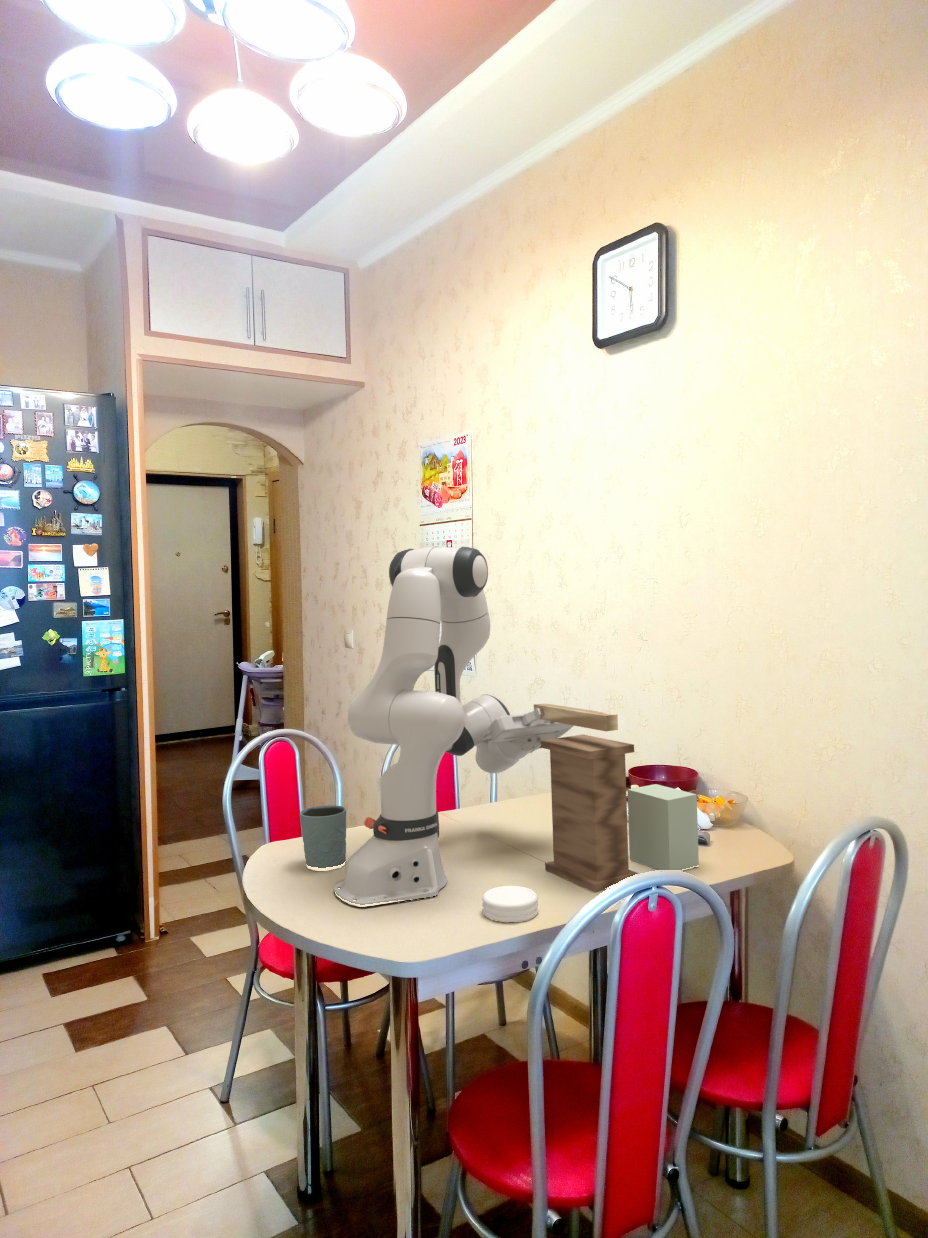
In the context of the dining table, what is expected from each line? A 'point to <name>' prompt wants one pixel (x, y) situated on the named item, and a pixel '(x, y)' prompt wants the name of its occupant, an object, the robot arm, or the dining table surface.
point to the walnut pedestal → (589, 810)
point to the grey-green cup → (324, 835)
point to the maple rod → (579, 717)
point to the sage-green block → (663, 827)
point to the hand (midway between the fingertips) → (549, 710)
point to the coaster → (510, 904)
